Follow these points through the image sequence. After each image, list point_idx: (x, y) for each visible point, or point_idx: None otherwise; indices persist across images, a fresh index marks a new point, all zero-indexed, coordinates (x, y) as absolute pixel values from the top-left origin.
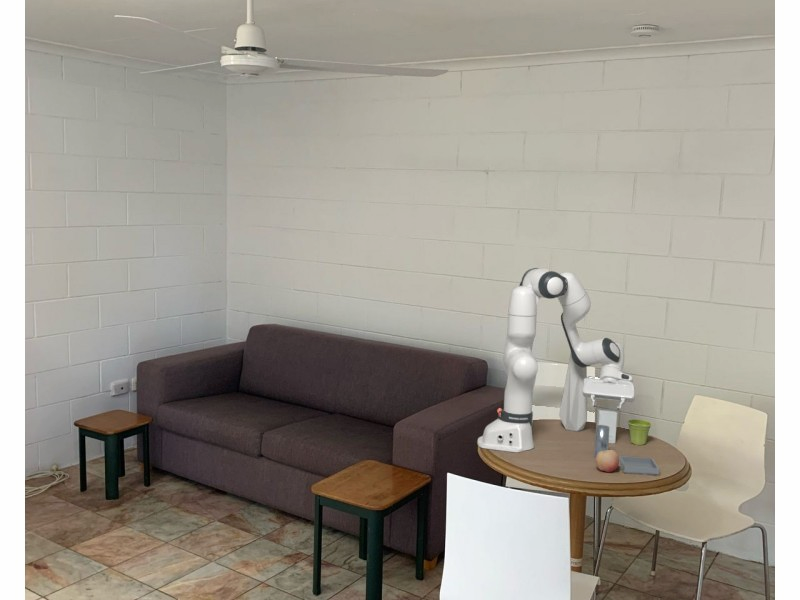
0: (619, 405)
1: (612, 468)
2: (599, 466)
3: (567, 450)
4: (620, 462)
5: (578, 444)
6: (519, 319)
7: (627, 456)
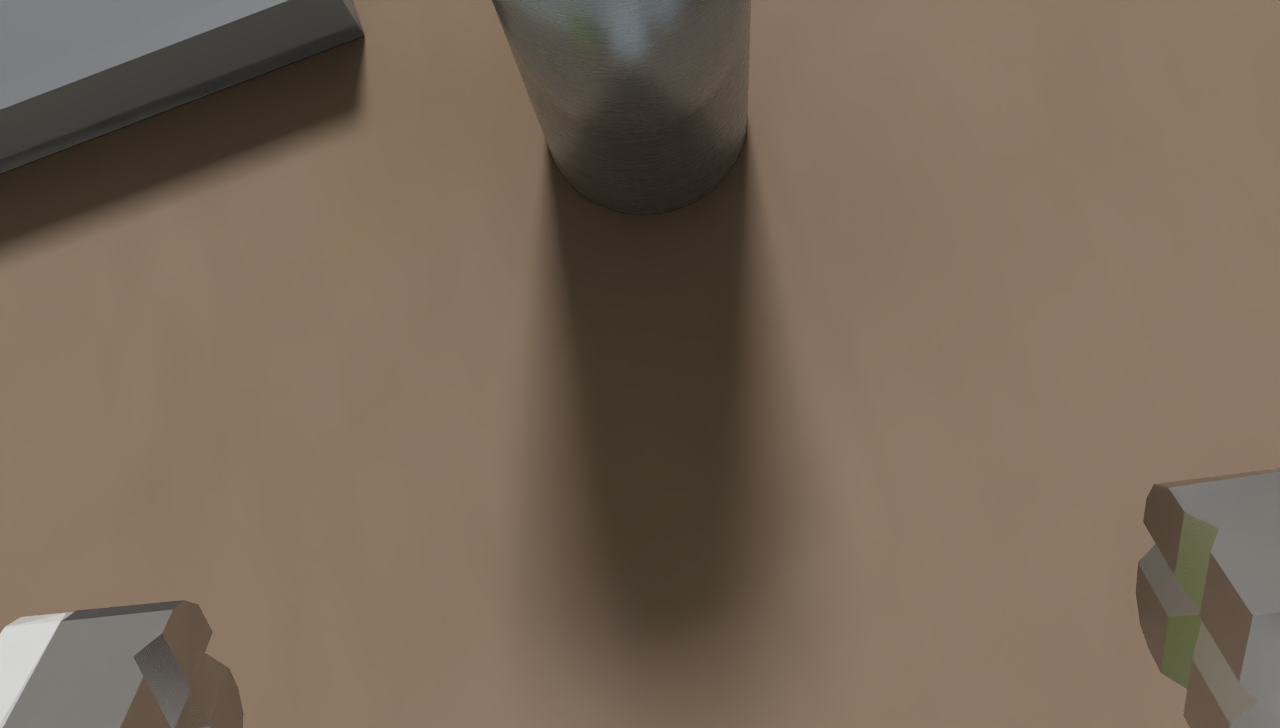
0: (29, 686)
1: None
2: None
3: (1206, 153)
4: None
5: None
6: None
7: (209, 29)
